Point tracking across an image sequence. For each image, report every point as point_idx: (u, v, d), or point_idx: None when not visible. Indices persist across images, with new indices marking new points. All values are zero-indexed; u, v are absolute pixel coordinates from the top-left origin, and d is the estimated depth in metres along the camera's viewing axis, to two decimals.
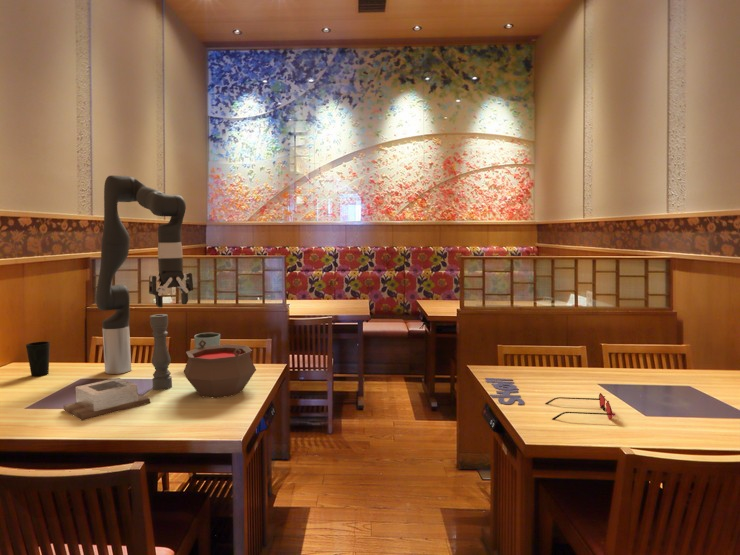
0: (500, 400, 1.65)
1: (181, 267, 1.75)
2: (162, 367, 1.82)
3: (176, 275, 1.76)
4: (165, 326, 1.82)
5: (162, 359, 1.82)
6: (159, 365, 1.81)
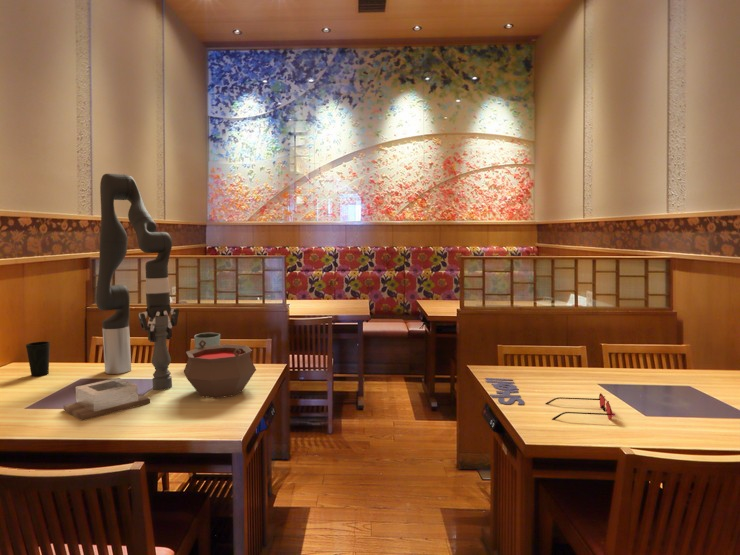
0: (500, 400, 1.65)
1: (168, 301, 1.82)
2: (162, 367, 1.82)
3: (163, 309, 1.83)
4: (165, 326, 1.82)
5: (162, 359, 1.82)
6: (159, 365, 1.81)
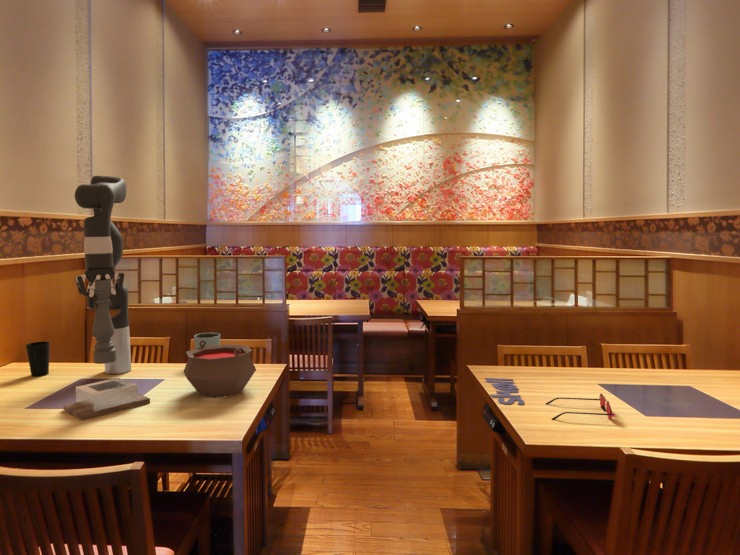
0: (500, 400, 1.65)
1: (110, 263, 1.61)
2: (104, 338, 1.61)
3: (105, 272, 1.62)
4: (107, 292, 1.61)
5: (104, 328, 1.61)
6: (100, 335, 1.60)
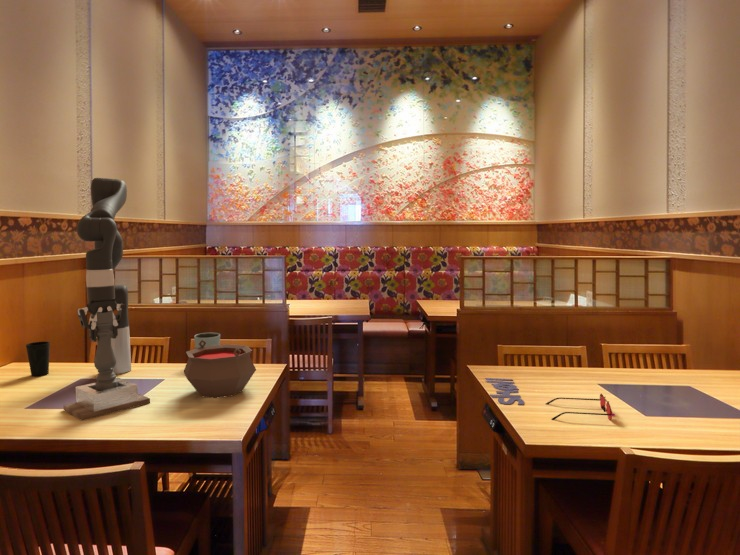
0: (500, 400, 1.65)
1: (112, 296, 1.62)
2: (106, 370, 1.62)
3: (107, 304, 1.63)
4: (109, 324, 1.62)
5: (106, 360, 1.62)
6: (102, 367, 1.61)
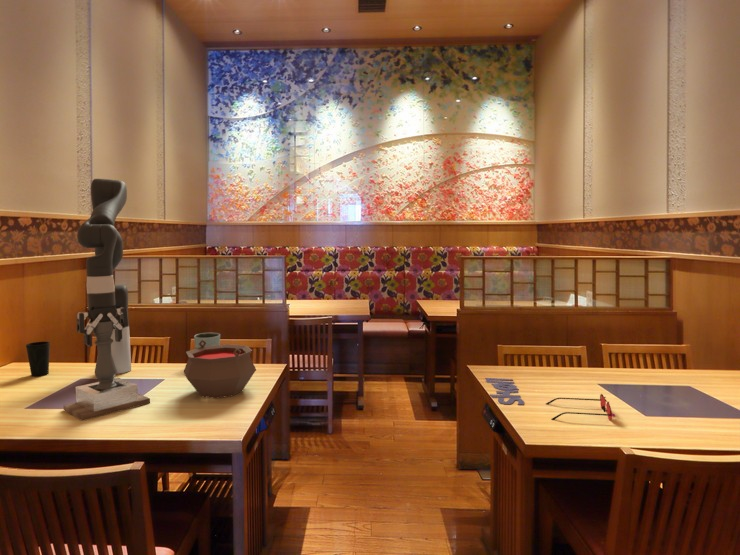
0: (500, 400, 1.65)
1: (112, 302, 1.62)
2: (106, 379, 1.63)
3: (108, 311, 1.63)
4: (109, 333, 1.63)
5: (106, 370, 1.62)
6: (102, 377, 1.62)
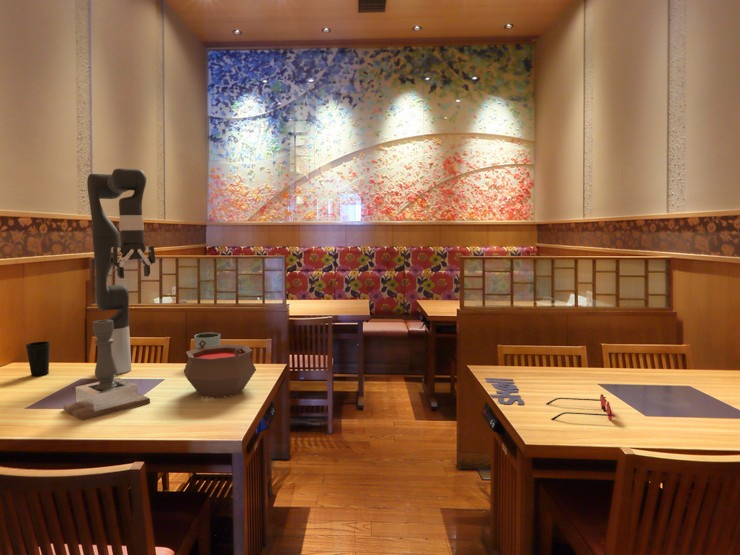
0: (500, 400, 1.65)
1: (142, 239, 1.80)
2: (106, 379, 1.63)
3: (137, 247, 1.81)
4: (110, 333, 1.62)
5: (106, 370, 1.62)
6: (103, 377, 1.62)
